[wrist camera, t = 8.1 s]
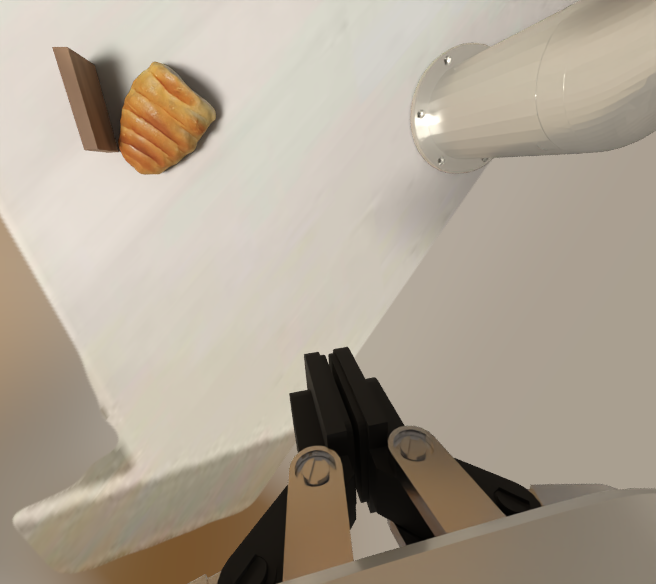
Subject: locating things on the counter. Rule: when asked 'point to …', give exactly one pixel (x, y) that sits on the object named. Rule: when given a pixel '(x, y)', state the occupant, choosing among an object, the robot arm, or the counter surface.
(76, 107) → the walnut block
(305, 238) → the counter surface
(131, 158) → the pastry
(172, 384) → the counter surface
